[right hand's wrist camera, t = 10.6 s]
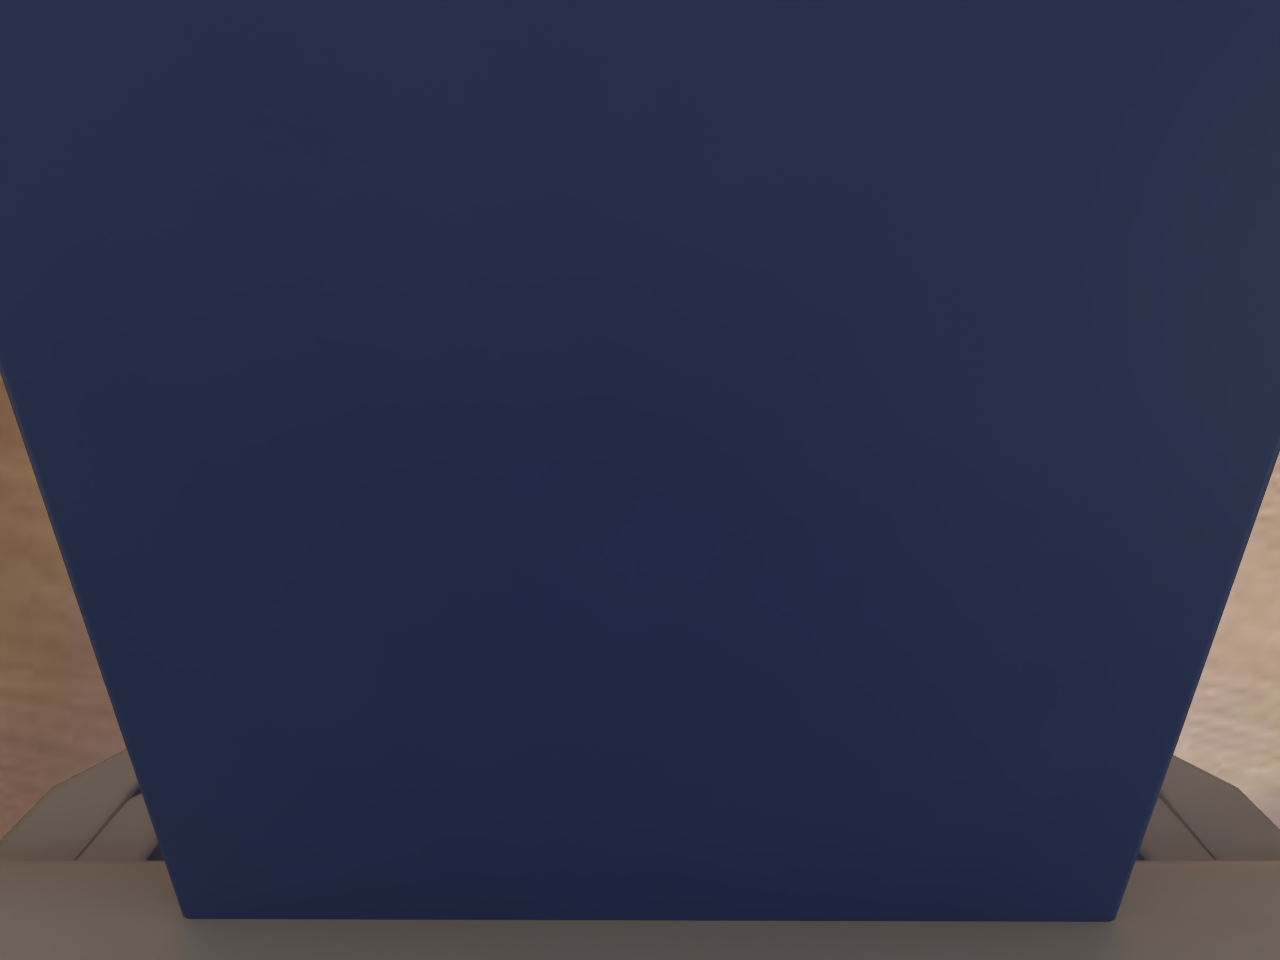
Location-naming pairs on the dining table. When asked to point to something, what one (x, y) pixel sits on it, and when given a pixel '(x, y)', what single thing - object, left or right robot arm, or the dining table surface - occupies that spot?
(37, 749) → the dining table surface
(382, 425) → the box
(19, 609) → the dining table surface
